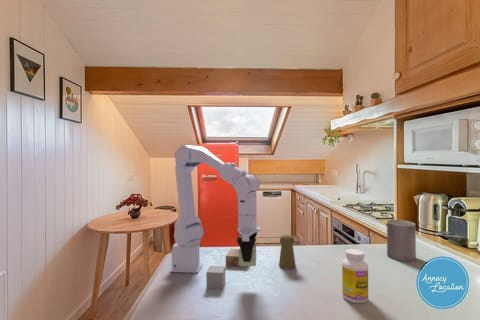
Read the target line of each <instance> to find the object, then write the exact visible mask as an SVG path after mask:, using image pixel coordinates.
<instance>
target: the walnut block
mask: <svg viewBox="0 0 480 320" xmlns="http://www.w3.org/2000/svg"><path fill="white" fill-rule="evenodd" d="M225 267H236V268H248V267H249V266H239V248H229V250H228V252H227V254H225Z"/></svg>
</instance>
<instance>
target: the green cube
mask: <svg viewBox="0 0 480 320" xmlns="http://www.w3.org/2000/svg"><path fill="white" fill-rule="evenodd" d="M238 249H239V266H248V267H256V265H257V244H256V243H255V244H254V246H253V250H252V257H251V261H250V262H244V261H243V258H242V252H241V249H240V246H239V248H238Z"/></svg>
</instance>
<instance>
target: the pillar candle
mask: <svg viewBox="0 0 480 320" xmlns="http://www.w3.org/2000/svg"><path fill="white" fill-rule="evenodd" d="M386 236H387V237H386V255H387V257H388V258H390V259H392V260H394V261H398V262H405V263H406V262H407V263H408V262H413V261H416V260H417V259H416V257H417V256H416V255H417V254H416V253H417V251H416V250H417V249H416V248H417V247H416V239H417V238H416V236H417V235H416V223H415V222H413V221H409V220H404V219H401V218H400V219H389V220H387V221H386Z"/></svg>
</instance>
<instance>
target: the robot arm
mask: <svg viewBox="0 0 480 320" xmlns="http://www.w3.org/2000/svg"><path fill="white" fill-rule="evenodd" d="M174 160H175V166H174V167H175V169H174V171H175V179H176V180H175V181H176V189H177V199H178V200H177V201H178V208H179V209H178V210H179V219H177V221H176V222H175V224H174V233H173V237H174V238H173V239H174V242H175V243H174V244H173V245H172V248H171V270H170V272H171V273H187V274H188V273H189V274H193V273H195V274H196V273H198V272H199V271H200V269H201V268H202V266H203V265H204V263H203V262H200V260H201V259H200V257H201V256H200V255H201V254H200V243H201V241H202V239H203V238H204V233H205V231H204V227H203V225H202V221H201V218H200V217H198V216H197V215H196V209H195V200H194V199H195V197H194V189H193V180H192V179H193V178H192V172H193V170H194V169H195V168H196V167H198V166H200V165H201V164H205V165H207V166H209V167H210V168H212V169H214V170H215V171H216V172H218V173H219V174H218V175H219V177H220V178H221V179H222V180H223V181H225V182H227V183H228V184H230V185H231V186H232V187H233V188H234V191H235V192H236V198H237V232H238V233H239V236H238V237H237V238H236V242H237V244H238V246H239V247H240V249H241V252H242V258H243V261H244V262H250V261H251V257H252V250H253V246H254V244H256V241H257V238H256V237H257V235H258V232H261V227H258V226H257V219H258V218H257V217H258V216H257V211H258V210H257V192H258V190H259V188H260V184H261V183H260V180H259V178H258V177H257V176H256V175H255V174H251V173H250V174H248V171H247V170H243V169H241V168H239V167H238V166H236V165H237V164H236V163H235V162H224V161H223V160H221V159H220V158H219V157H217V156H216V155H214V154H213V153H212V152H210V150H208V149H207V148H206V147H204V146H202V145H185V144H181V145H179V146H178V147H177V149H176V150H175V152H174Z"/></svg>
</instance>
